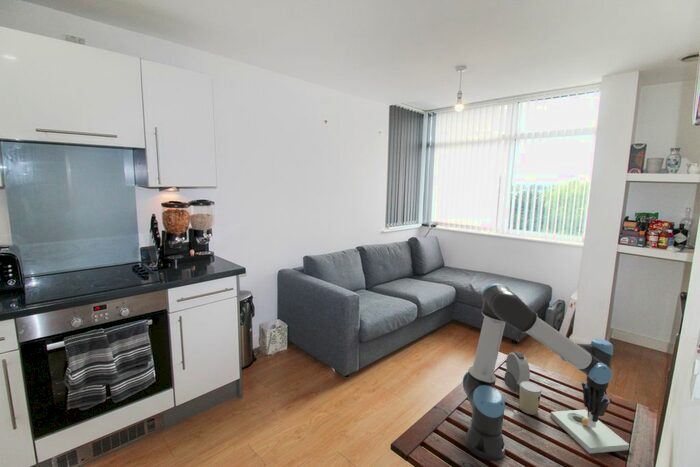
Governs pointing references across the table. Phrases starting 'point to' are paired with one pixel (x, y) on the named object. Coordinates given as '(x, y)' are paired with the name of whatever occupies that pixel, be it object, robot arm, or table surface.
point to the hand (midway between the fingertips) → (591, 426)
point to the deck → (589, 432)
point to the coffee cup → (529, 397)
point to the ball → (585, 421)
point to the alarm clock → (516, 370)
